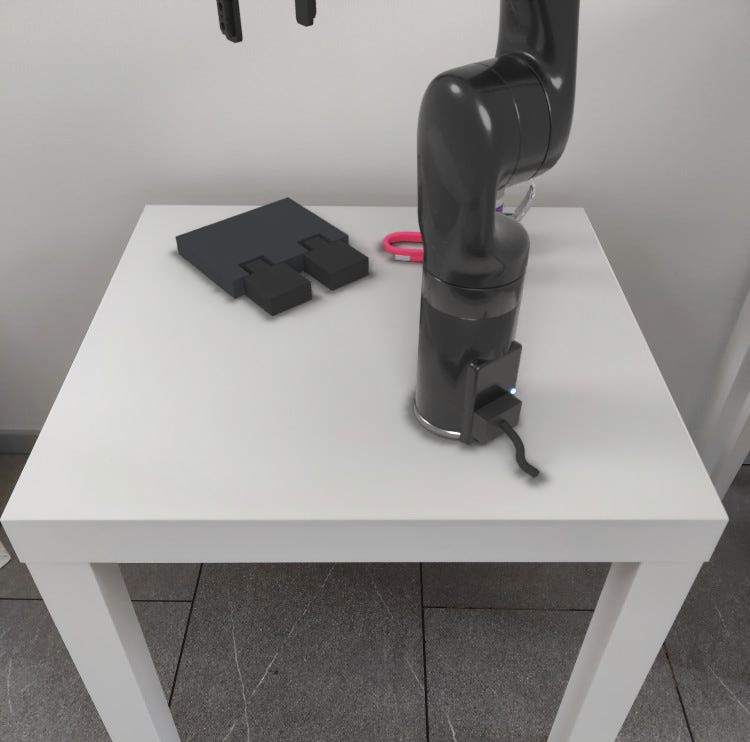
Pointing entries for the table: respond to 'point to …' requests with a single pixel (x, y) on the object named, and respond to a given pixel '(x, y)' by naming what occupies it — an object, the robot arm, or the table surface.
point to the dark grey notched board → (254, 242)
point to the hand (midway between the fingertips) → (270, 32)
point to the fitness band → (401, 252)
